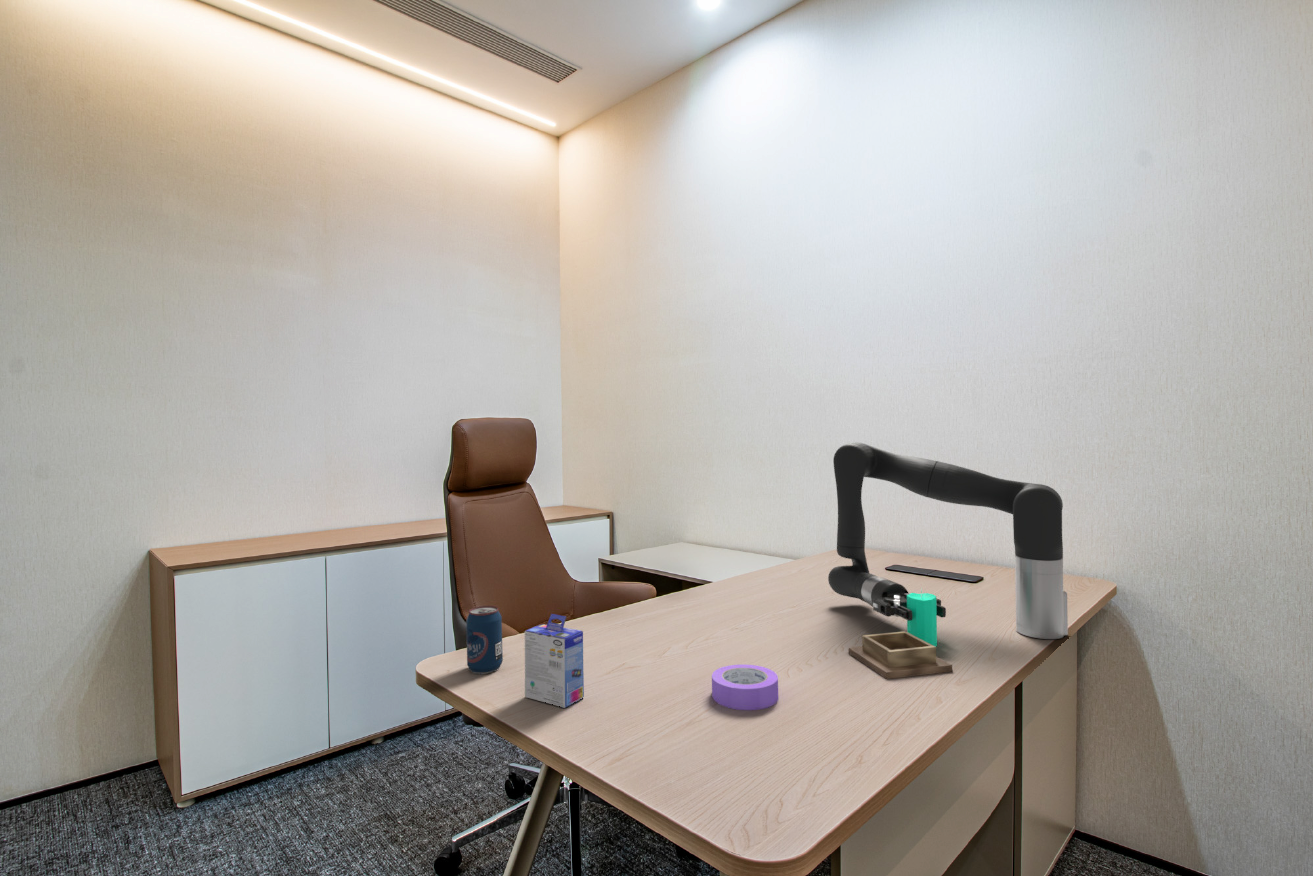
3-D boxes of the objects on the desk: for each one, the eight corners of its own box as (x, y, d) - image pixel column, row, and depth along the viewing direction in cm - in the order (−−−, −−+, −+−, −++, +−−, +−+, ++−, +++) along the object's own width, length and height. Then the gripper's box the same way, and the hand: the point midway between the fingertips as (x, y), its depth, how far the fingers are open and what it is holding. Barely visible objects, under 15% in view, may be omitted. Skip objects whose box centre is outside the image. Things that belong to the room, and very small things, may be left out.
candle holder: (908, 647, 135) (908, 627, 135) (952, 671, 122) (951, 649, 122) (848, 653, 132) (848, 633, 132) (886, 678, 119) (886, 656, 119)
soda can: (460, 672, 127) (458, 612, 126) (481, 660, 133) (480, 603, 133) (488, 677, 124) (487, 616, 124) (509, 664, 130) (508, 606, 130)
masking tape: (710, 684, 119) (710, 663, 119) (773, 683, 118) (772, 663, 118) (714, 711, 107) (713, 689, 107) (783, 711, 107) (783, 688, 107)
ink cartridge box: (586, 698, 113) (584, 617, 113) (566, 710, 109) (564, 625, 108) (544, 687, 119) (542, 610, 118) (523, 698, 114) (521, 617, 114)
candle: (941, 643, 137) (940, 588, 137) (931, 650, 133) (930, 593, 133) (913, 637, 141) (912, 583, 141) (902, 644, 137) (902, 589, 137)
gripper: (856, 581, 150) (897, 599, 134) (910, 577, 153) (956, 594, 137) (857, 613, 150) (897, 634, 134) (911, 608, 153) (957, 628, 137)
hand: (927, 614), depth 135 cm, fingers open, 7 cm apart
